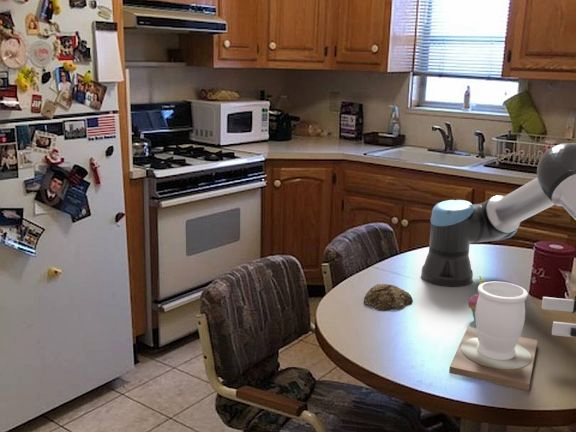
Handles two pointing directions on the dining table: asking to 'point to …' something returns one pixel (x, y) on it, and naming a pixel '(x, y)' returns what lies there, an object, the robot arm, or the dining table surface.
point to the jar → (499, 318)
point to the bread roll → (387, 297)
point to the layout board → (495, 362)
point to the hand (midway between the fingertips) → (547, 314)
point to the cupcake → (474, 301)
